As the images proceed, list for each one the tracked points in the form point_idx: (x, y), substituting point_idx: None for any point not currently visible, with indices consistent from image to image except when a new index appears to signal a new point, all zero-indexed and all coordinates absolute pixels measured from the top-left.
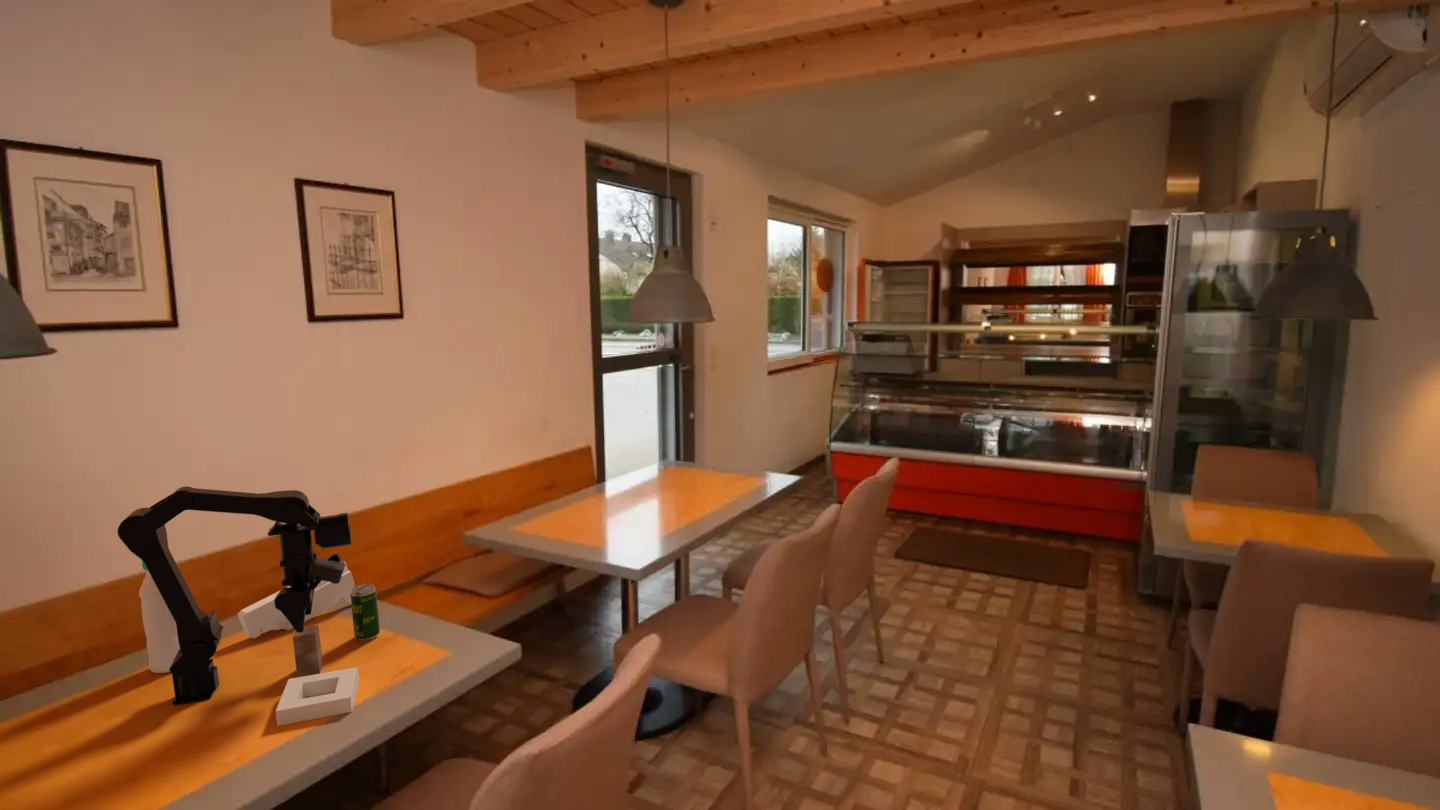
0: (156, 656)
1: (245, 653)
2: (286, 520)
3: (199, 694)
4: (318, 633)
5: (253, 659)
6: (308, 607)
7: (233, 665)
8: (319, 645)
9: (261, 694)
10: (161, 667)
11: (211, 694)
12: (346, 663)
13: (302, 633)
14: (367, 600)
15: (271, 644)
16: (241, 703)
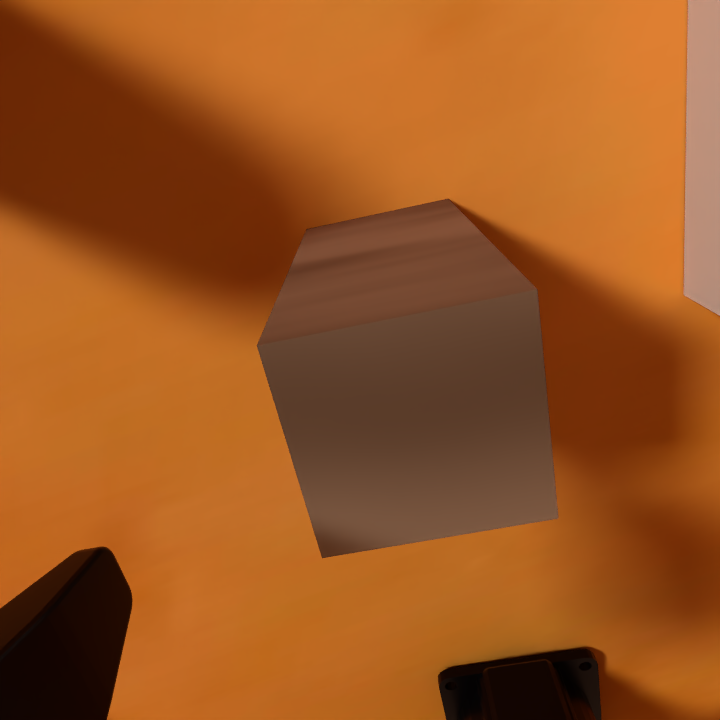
0: None
1: (119, 685)
2: None
3: (587, 702)
4: (328, 301)
5: (190, 631)
6: (60, 657)
7: (248, 683)
8: (343, 262)
9: (630, 450)
10: None
11: (578, 659)
12: (318, 33)
13: (490, 449)
14: None
15: None
16: (697, 506)
